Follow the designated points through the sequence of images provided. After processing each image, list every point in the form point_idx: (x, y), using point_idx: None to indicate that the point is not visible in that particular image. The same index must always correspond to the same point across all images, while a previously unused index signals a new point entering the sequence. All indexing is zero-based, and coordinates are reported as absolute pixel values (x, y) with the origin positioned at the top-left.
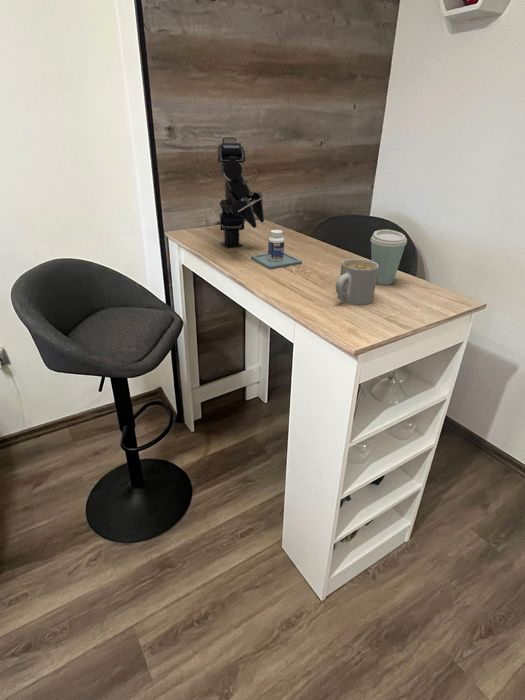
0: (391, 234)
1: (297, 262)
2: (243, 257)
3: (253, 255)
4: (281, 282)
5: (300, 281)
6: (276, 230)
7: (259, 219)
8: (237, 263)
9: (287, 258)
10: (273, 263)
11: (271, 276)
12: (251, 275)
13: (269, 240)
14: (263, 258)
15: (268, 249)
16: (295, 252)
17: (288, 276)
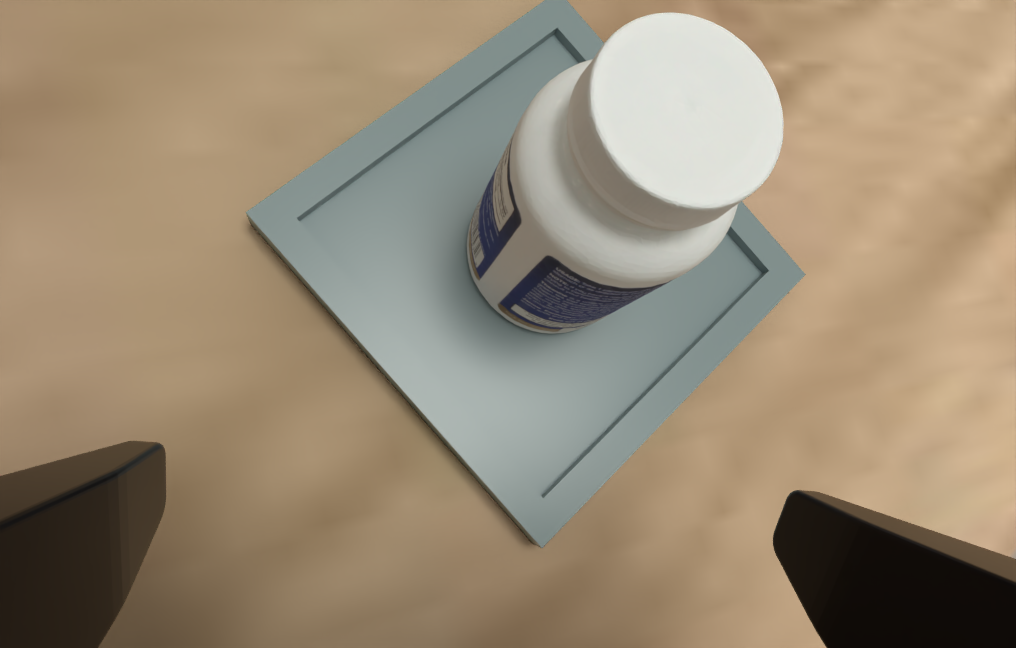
0: None
1: (591, 38)
2: (517, 639)
3: (525, 515)
4: (1001, 161)
5: (936, 31)
6: (649, 113)
7: (125, 585)
8: (727, 638)
9: (485, 136)
10: None
11: (923, 247)
12: (961, 412)
13: (698, 262)
14: (556, 386)
15: (623, 306)
16: (169, 68)
17: (878, 117)
